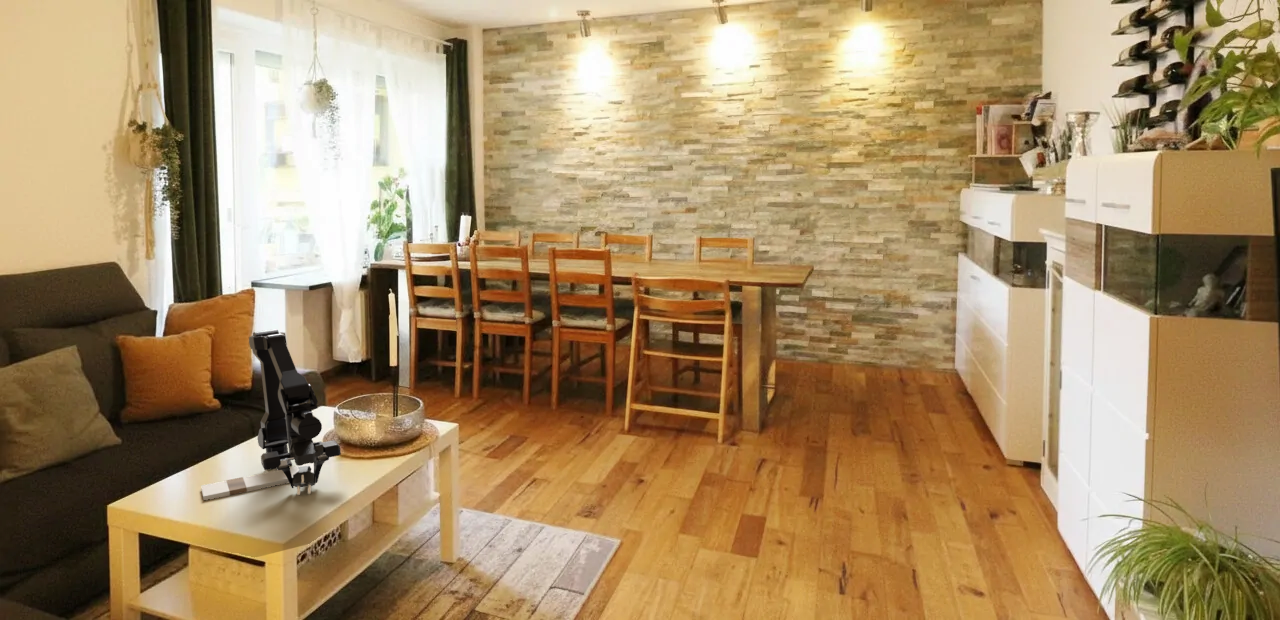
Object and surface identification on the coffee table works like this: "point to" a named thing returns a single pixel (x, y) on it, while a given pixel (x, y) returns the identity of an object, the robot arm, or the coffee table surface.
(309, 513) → the coffee table surface
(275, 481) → the board
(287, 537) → the coffee table surface
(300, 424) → the robot arm
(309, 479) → the power plug
